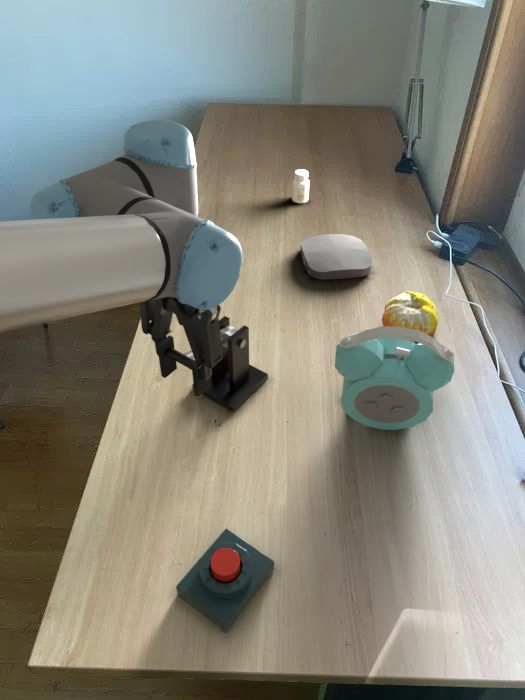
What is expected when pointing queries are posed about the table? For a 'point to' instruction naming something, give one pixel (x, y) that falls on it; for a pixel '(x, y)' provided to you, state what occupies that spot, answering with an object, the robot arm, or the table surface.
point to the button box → (225, 597)
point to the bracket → (234, 372)
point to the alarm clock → (391, 376)
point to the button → (225, 565)
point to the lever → (188, 357)
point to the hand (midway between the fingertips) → (185, 381)
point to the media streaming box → (335, 256)
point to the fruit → (411, 313)
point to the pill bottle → (300, 186)
